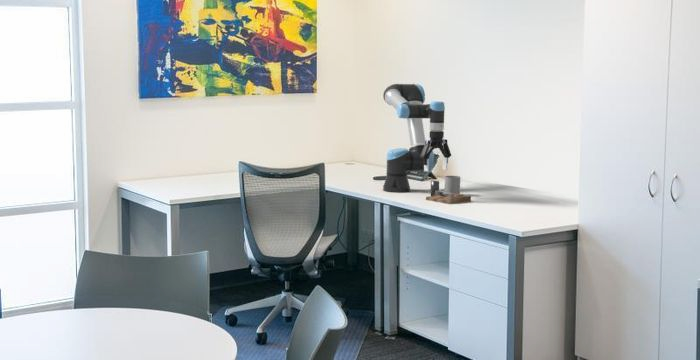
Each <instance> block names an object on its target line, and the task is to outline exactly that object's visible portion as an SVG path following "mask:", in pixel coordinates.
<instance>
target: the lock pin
mask: <svg viewBox="0 0 700 360" xmlns="http://www.w3.org/2000/svg"><path fill="white" fill-rule="evenodd" d="M435 191H439V192H440V194H442V196H445V197H450V198H452V197H454V193H451V192H445V191H444V190H443V191H441V190H440V181H439V180H430V196H433V195H435Z"/></svg>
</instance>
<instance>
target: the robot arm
mask: <svg viewBox="0 0 700 360" xmlns="http://www.w3.org/2000/svg"><path fill="white" fill-rule="evenodd" d="M425 96H426V93H425V90H424V88H423V86H422V85H421V84H418V83H416V84H415V83H393V84H391V85H388V86H387V87H386V88H385V89H384V91H383V101H384V102H385V103H386V104H387V105H390V106H392V107H393V108H394V109H395V110H396V114H397V117H398V118H399V119H405V120H406V121H407V128H408V134H409V135H408V136H409V141H410V143H409V144H410V147H409V148H406V147H403V148H394V149H389V150H388V151H387V153H386V177H385V180H384V183H383V185H382V191H385V192H390V193H407V192H410V191H411V186H410V182H409V178H408V173H409V172H413V173H414V172H415V173H417V172H419V173H421V172H423V173H424V172H429V171H431V170H432V169H433V167H434V164H435V163H434V162H435V154H434V153H435V152H434V150H435V149H439V151H440V152H441V154H442V156H443V157H442V170H445V171H447V170H448V164H449V158H451V157H452V154H451V150H450V147H449V144H448V139H445V138H444V137H445V136H444V134H445V132H444V130H445V111H446V109H445V108H446V107H445V102H444V101H435V100H434V101H431V102H430V103H427V104H424V103H425V101H426V97H425ZM423 119H429V130H430V131H429V140H428V139H426V137H425V130H424V129H425V128H424V123H423Z"/></svg>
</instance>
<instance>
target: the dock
mask: <svg viewBox="0 0 700 360" xmlns="http://www.w3.org/2000/svg"><path fill="white" fill-rule="evenodd" d="M440 191H444V190H440ZM445 192H446V191H445ZM425 200H427V201H431V202H436V203H442V204H448V205H453V204H459V203H467V202H468V203H469V202H471V200H472V197H471V195H465V194H461V193H460V194H456V193H454V197H452V198H450V197H445V196H442V194H440V192H439V191H435V195H433V196H431V195H429V196H426V197H425Z"/></svg>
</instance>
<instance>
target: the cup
mask: <svg viewBox="0 0 700 360" xmlns="http://www.w3.org/2000/svg"><path fill="white" fill-rule="evenodd" d="M443 191H446V192H451V193H456V194H461V176H459V175H445V176H444V190H443Z"/></svg>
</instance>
